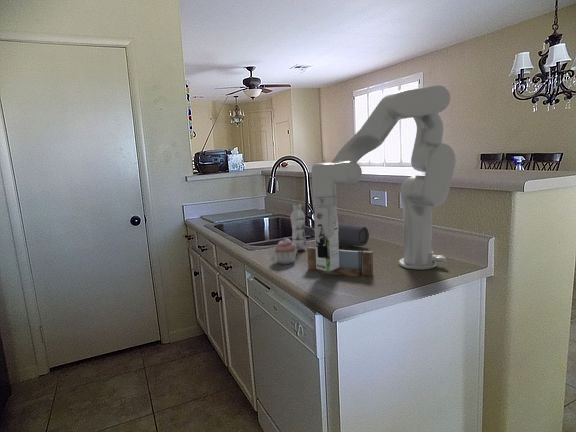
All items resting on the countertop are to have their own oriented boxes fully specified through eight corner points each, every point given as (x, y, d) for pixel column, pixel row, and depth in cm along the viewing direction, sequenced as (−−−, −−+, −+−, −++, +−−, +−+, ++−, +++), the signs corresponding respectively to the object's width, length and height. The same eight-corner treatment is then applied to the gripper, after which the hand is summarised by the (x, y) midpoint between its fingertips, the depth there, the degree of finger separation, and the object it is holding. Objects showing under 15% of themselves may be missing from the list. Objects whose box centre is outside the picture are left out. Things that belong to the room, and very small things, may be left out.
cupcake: (270, 261, 149) (268, 236, 147) (291, 257, 153) (289, 233, 151) (281, 267, 141) (279, 241, 139) (302, 262, 145) (301, 237, 143)
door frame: (373, 274, 127) (372, 251, 126) (370, 278, 124) (369, 254, 122) (310, 268, 138) (309, 246, 136) (306, 271, 134) (304, 249, 133)
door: (362, 273, 128) (362, 250, 127) (361, 274, 127) (361, 251, 126) (323, 269, 135) (323, 247, 134) (322, 270, 134) (321, 248, 133)
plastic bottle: (290, 252, 161) (288, 205, 158) (293, 248, 168) (290, 203, 164) (305, 251, 160) (303, 205, 157) (307, 247, 167) (305, 202, 163)
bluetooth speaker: (370, 246, 164) (369, 223, 162) (357, 251, 157) (357, 227, 156) (328, 239, 180) (327, 219, 178) (316, 243, 173) (315, 222, 171)
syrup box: (315, 268, 127) (313, 226, 124) (327, 264, 130) (325, 223, 128) (328, 272, 122) (326, 228, 120) (340, 267, 126) (338, 224, 124)
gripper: (325, 205, 113) (328, 262, 116) (344, 197, 129) (346, 248, 132) (303, 205, 117) (306, 260, 120) (323, 197, 132) (326, 247, 135)
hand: (327, 253), depth 126 cm, fingers closed on syrup box, 7 cm apart
